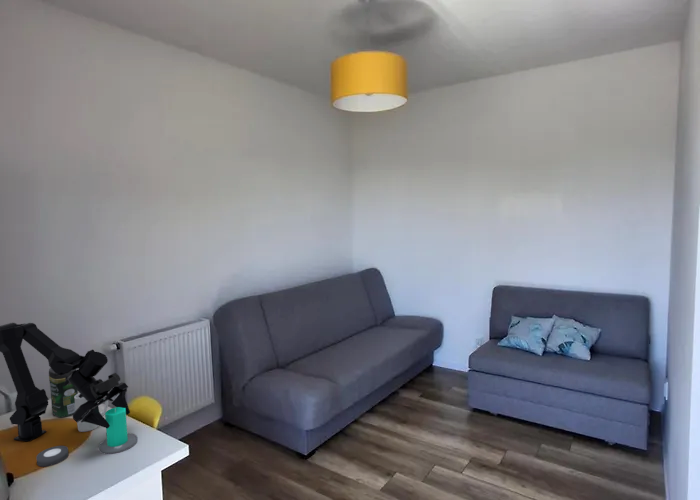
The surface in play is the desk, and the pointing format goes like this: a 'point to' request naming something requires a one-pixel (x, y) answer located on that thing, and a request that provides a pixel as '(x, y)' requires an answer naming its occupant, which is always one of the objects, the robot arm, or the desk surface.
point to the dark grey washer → (52, 456)
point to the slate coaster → (111, 450)
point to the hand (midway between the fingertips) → (119, 420)
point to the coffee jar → (62, 394)
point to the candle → (116, 426)
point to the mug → (85, 425)
